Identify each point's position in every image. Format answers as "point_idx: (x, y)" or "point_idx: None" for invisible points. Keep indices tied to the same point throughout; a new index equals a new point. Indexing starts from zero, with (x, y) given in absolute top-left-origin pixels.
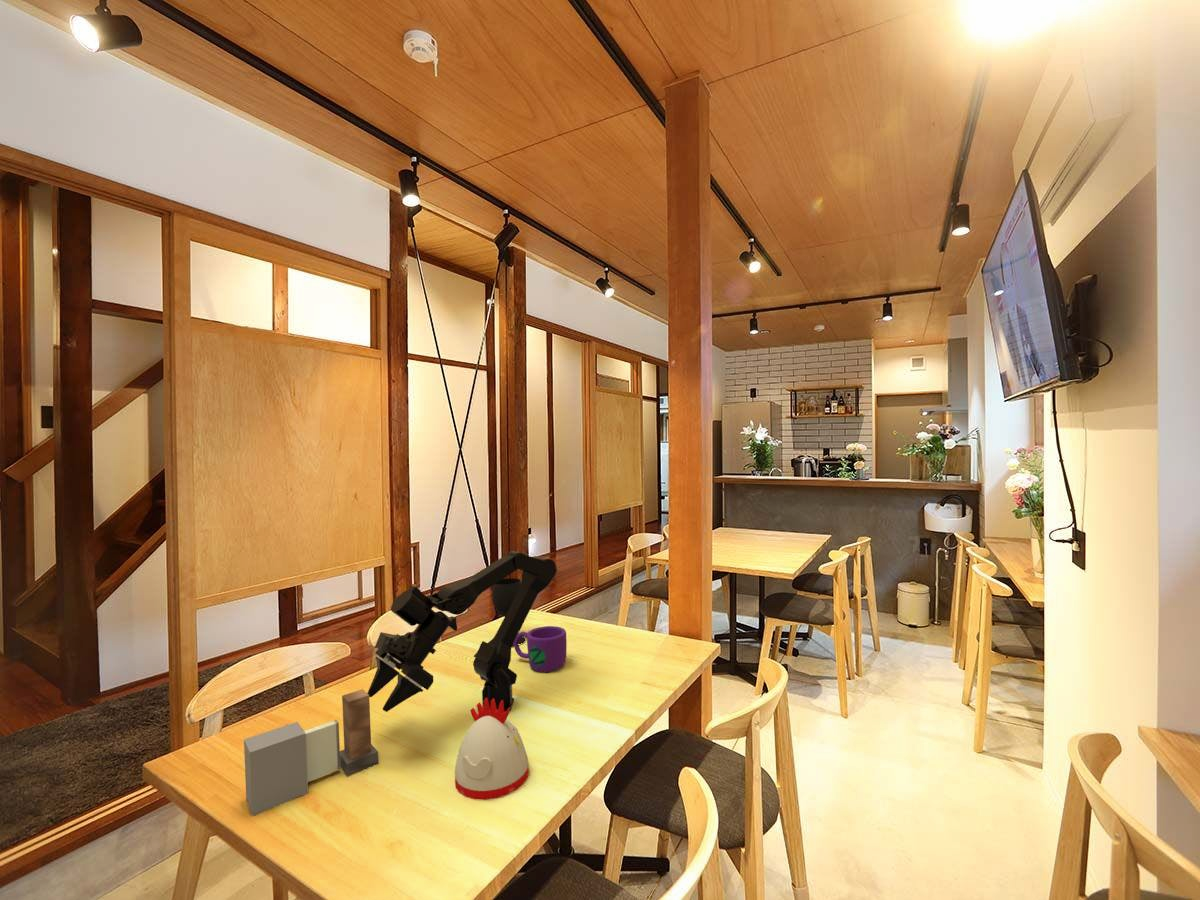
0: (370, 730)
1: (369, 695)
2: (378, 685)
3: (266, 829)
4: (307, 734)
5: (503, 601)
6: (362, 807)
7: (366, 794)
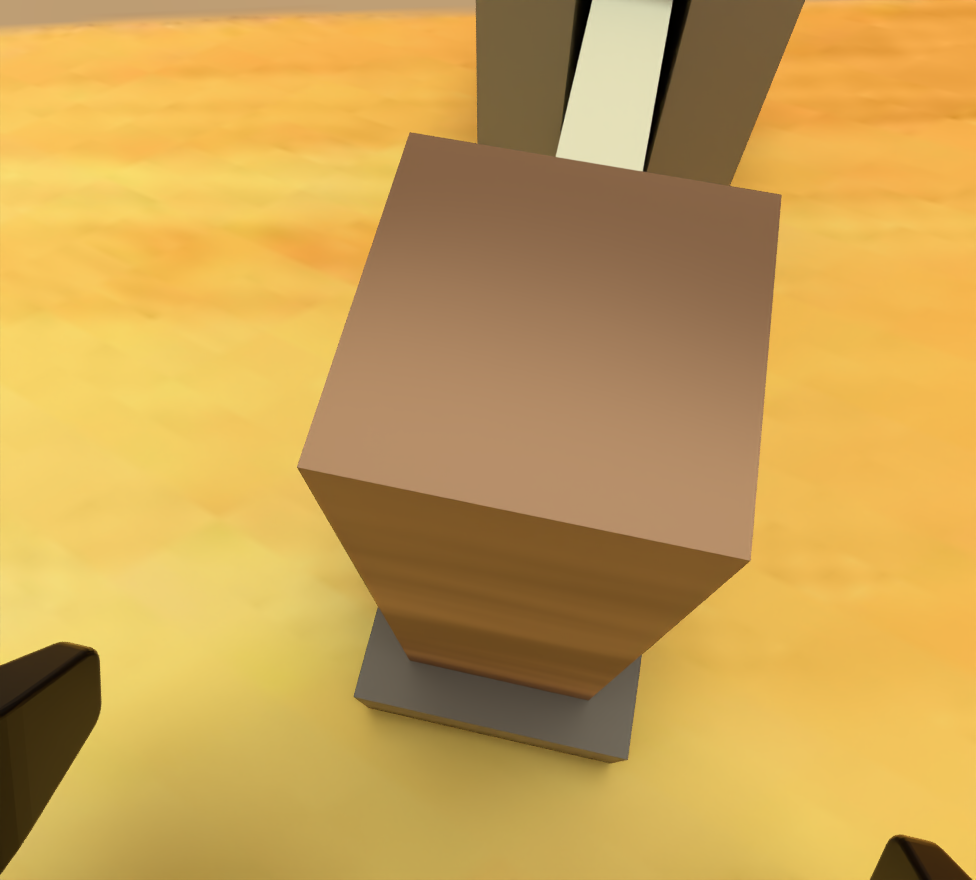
0: (387, 621)
1: (884, 874)
2: None
3: (368, 72)
4: (587, 30)
5: None
6: (45, 373)
7: (127, 449)
